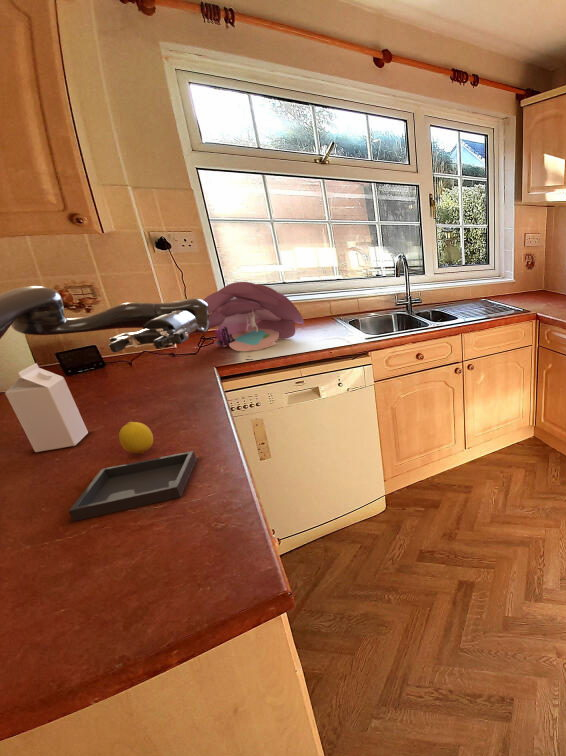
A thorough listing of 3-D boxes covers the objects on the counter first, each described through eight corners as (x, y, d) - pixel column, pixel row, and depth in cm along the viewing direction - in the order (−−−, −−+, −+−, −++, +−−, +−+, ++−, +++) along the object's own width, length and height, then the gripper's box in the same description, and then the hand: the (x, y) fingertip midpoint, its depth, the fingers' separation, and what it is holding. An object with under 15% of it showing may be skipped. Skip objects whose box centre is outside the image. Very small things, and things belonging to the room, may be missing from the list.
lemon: (124, 462, 92) (110, 430, 89) (129, 451, 96) (116, 420, 93) (156, 455, 95) (144, 423, 92) (159, 444, 99) (148, 414, 96)
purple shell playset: (218, 369, 162) (190, 301, 146) (205, 345, 176) (177, 280, 161) (311, 342, 182) (294, 279, 166) (292, 323, 196) (275, 263, 180)
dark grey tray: (73, 521, 74) (68, 510, 73) (105, 478, 86) (101, 468, 86) (180, 497, 80) (176, 487, 79) (196, 459, 92) (193, 450, 92)
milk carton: (35, 453, 96) (-5, 375, 89) (51, 439, 102) (15, 365, 95) (75, 446, 99) (40, 370, 92) (88, 433, 105) (56, 360, 98)
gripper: (131, 317, 108) (91, 333, 94) (195, 313, 112) (165, 328, 97) (141, 345, 111) (104, 365, 97) (203, 341, 115) (175, 358, 100)
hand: (135, 346), depth 97 cm, fingers open, 8 cm apart
